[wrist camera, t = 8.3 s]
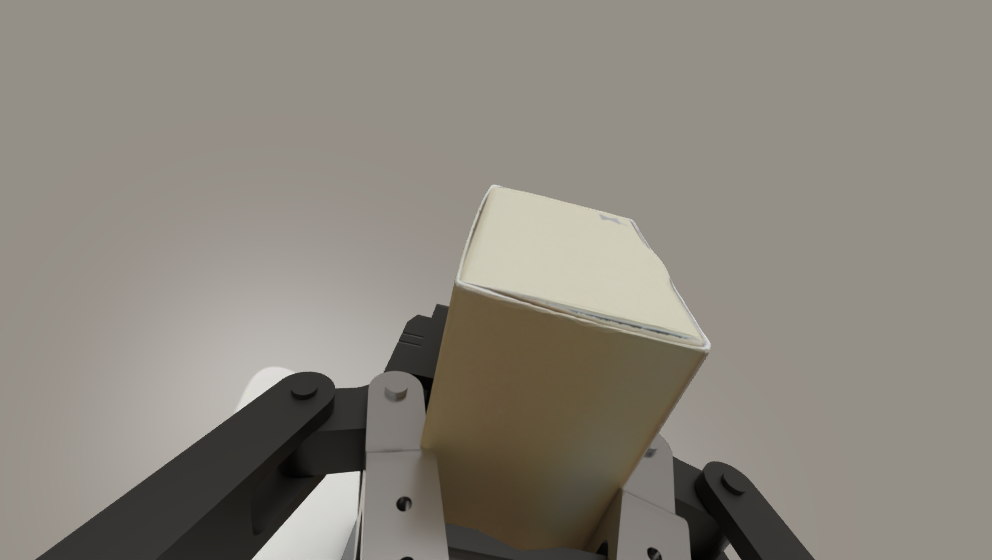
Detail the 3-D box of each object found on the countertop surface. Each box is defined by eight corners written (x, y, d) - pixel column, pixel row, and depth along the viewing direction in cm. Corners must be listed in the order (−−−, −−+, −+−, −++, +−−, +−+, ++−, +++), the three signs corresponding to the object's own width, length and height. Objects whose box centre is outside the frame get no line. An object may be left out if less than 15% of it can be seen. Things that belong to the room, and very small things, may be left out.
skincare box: (426, 457, 17) (489, 176, 12) (525, 481, 17) (634, 213, 12) (371, 647, 11) (445, 272, 6) (520, 680, 12) (728, 342, 6)
